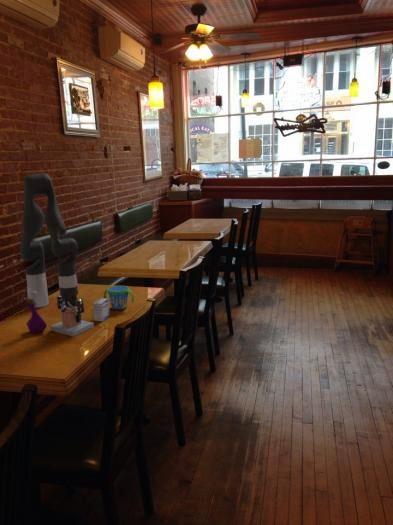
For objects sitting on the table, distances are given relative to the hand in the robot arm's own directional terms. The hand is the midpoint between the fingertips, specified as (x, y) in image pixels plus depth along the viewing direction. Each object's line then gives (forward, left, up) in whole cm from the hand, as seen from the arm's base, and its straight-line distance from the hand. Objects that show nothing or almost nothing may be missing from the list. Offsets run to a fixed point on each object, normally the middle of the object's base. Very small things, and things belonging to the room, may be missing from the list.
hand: (71, 320), depth 188 cm
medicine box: (+2, +16, -4) cm, 17 cm away
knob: (0, 0, -2) cm, 2 cm away
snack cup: (-1, +31, -4) cm, 31 cm away
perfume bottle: (-11, -10, -4) cm, 15 cm away
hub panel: (0, 0, -4) cm, 4 cm away
